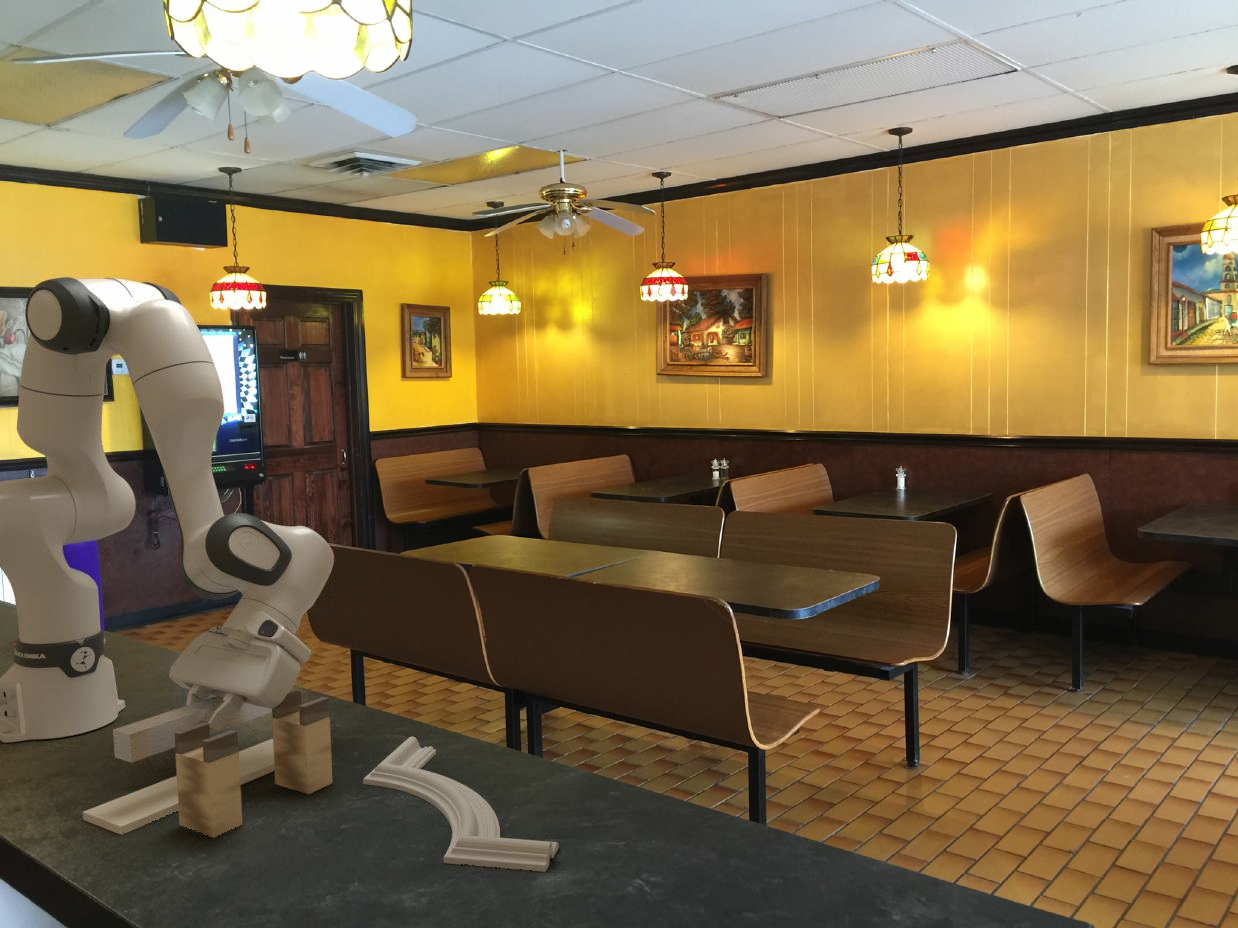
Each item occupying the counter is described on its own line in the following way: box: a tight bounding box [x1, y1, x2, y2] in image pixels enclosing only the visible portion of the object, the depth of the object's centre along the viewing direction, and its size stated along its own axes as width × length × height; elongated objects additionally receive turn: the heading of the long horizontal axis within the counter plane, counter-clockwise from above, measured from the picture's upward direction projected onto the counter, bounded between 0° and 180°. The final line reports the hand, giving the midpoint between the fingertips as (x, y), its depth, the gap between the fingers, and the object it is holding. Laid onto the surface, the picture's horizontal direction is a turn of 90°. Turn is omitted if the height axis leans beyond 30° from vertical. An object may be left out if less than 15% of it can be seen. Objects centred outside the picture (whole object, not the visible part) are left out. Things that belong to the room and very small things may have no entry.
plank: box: [82, 738, 275, 836], centre depth 131 cm, size 8×28×1 cm, turn 148°
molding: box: [362, 736, 560, 873], centre depth 123 cm, size 42×12×3 cm, turn 34°
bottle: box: [63, 540, 106, 638], centre depth 193 cm, size 8×8×30 cm
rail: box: [112, 696, 272, 764], centre depth 130 cm, size 4×22×4 cm, turn 148°
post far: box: [271, 690, 333, 795], centre depth 131 cm, size 6×4×12 cm, turn 58°
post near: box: [174, 722, 243, 839], centre depth 119 cm, size 6×4×12 cm, turn 58°
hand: (198, 724), depth 130 cm, fingers closed on rail, 3 cm apart
